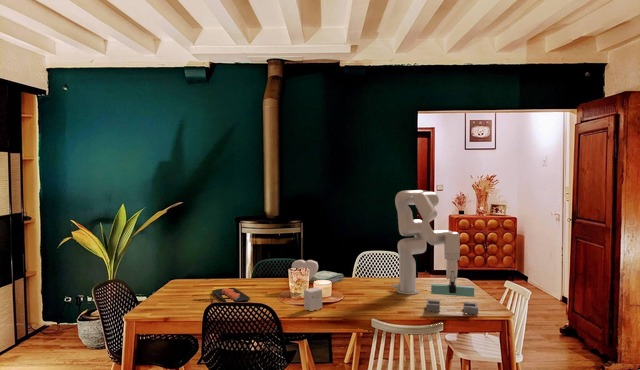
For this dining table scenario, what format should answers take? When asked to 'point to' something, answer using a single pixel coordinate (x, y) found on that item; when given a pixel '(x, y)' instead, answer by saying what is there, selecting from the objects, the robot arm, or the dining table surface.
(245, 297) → the sushi plate
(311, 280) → the towel
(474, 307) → the end caps
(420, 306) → the dining table surface
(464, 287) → the slat
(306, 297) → the small box
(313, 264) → the heart sculpture
